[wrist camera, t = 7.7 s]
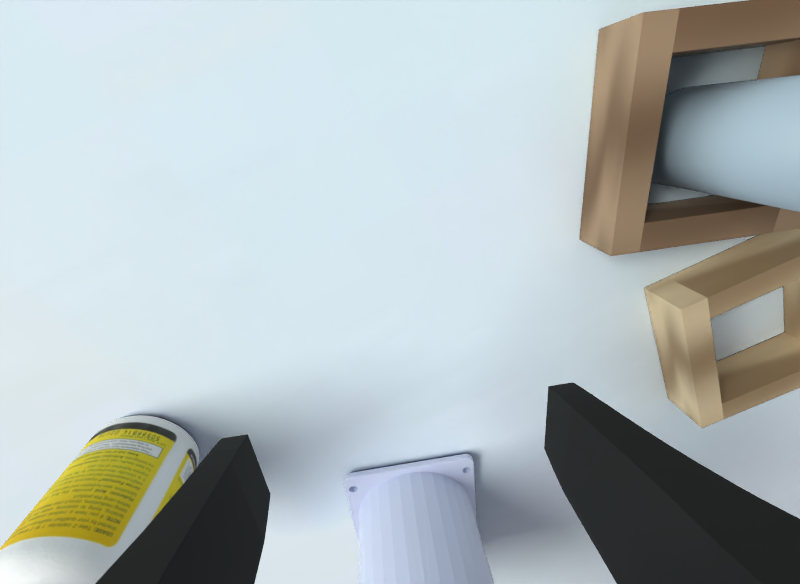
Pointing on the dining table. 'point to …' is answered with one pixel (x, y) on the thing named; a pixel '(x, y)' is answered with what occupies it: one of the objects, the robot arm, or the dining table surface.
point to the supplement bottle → (100, 503)
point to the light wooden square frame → (713, 295)
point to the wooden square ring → (641, 117)
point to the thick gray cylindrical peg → (733, 141)
